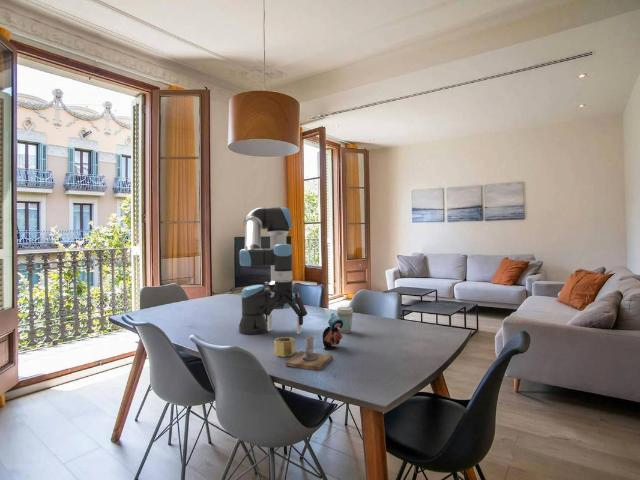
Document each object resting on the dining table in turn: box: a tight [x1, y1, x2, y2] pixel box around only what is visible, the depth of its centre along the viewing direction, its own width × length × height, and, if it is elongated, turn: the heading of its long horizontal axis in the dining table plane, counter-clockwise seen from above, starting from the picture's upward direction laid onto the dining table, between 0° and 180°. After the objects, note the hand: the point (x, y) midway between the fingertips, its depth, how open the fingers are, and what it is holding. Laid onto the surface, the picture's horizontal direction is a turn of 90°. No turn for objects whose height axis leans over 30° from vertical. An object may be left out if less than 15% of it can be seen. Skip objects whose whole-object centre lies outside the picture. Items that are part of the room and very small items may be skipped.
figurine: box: [321, 313, 343, 351], centre depth 164 cm, size 10×7×15 cm
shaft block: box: [285, 336, 333, 372], centre depth 146 cm, size 14×14×10 cm
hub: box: [273, 336, 296, 358], centre depth 157 cm, size 8×8×6 cm
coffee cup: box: [336, 306, 354, 334], centre depth 190 cm, size 8×8×12 cm
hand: (284, 331), depth 156 cm, fingers open, 13 cm apart
